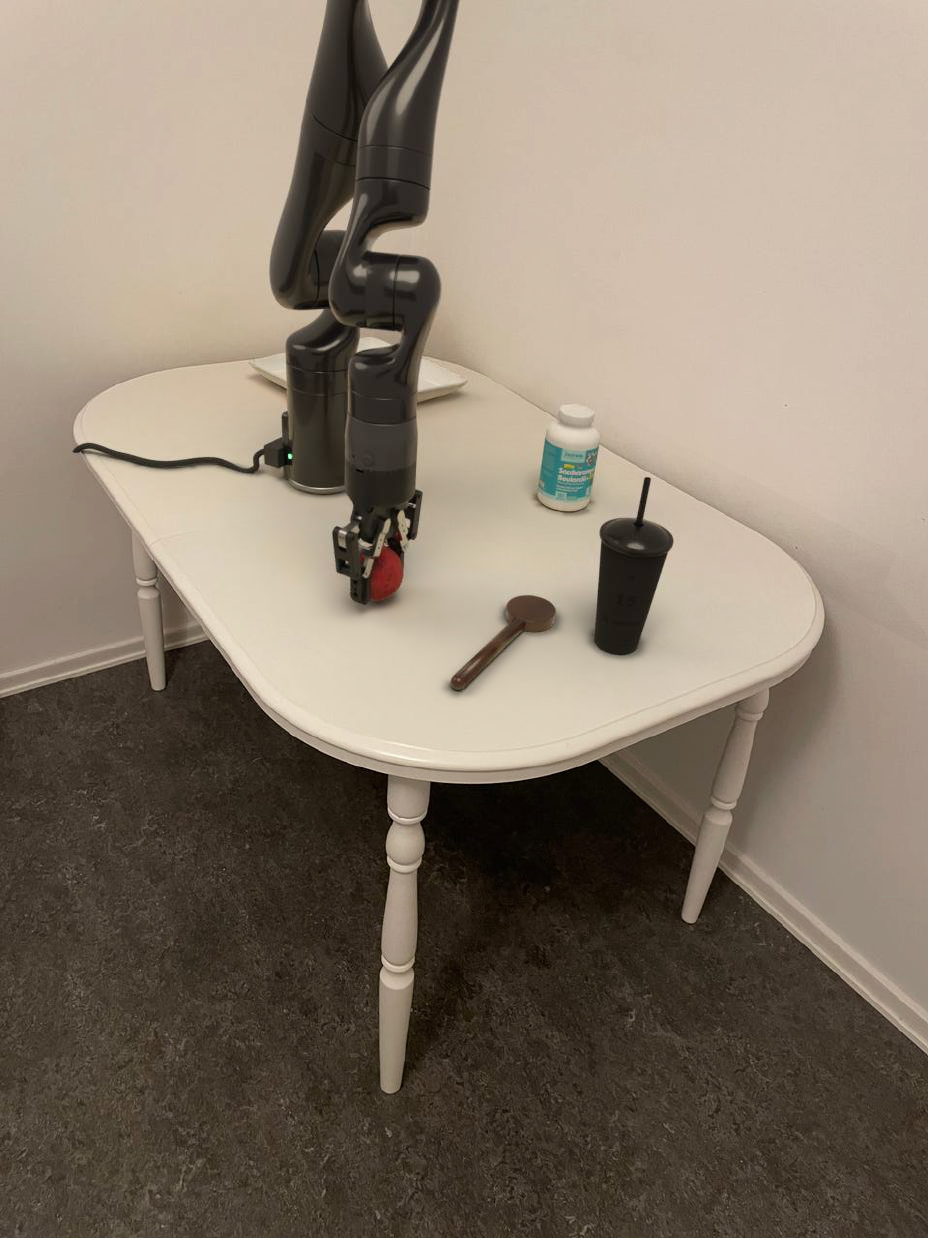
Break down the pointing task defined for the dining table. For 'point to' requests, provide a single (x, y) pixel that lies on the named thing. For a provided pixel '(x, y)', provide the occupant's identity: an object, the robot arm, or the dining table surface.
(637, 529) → the drinking cup
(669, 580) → the dining table surface
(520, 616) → the spoon
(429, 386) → the square plate
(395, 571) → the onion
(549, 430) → the pill bottle
